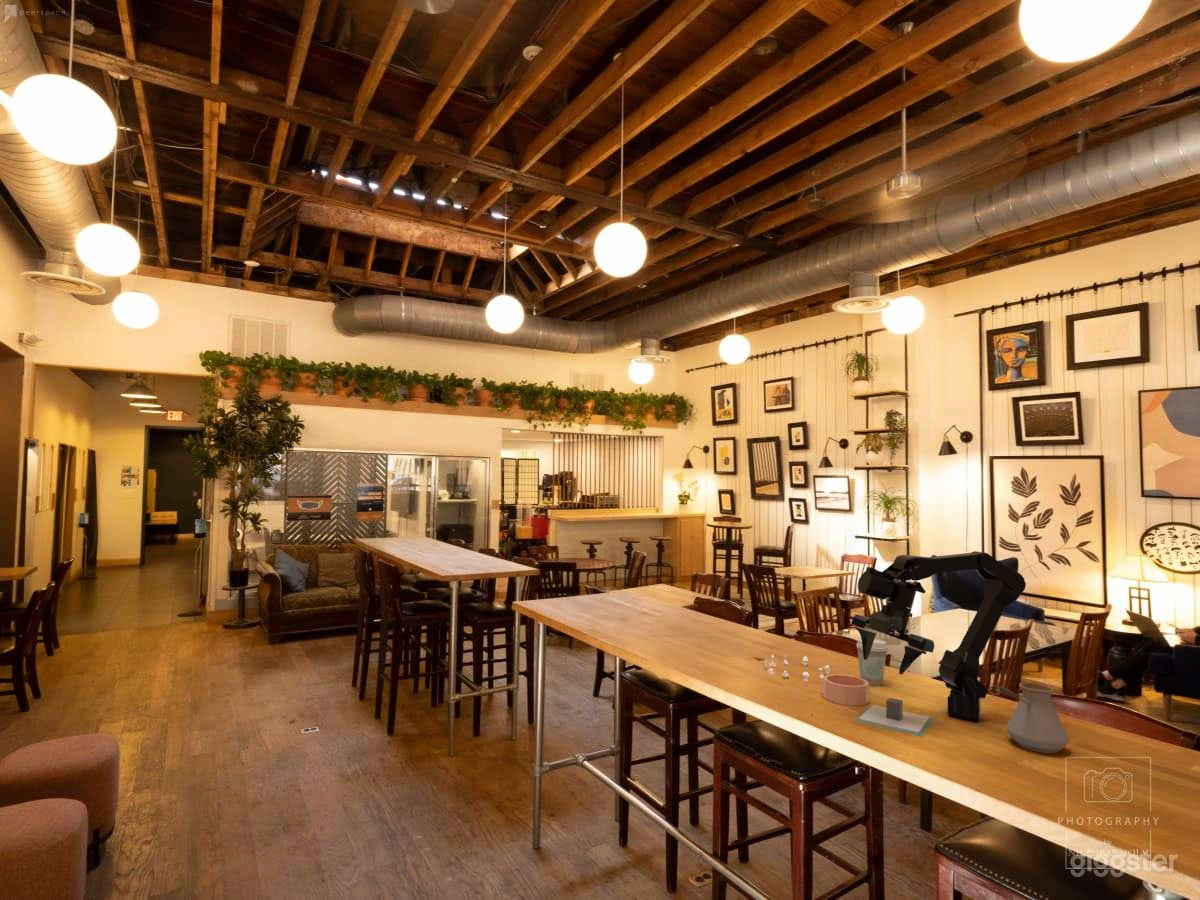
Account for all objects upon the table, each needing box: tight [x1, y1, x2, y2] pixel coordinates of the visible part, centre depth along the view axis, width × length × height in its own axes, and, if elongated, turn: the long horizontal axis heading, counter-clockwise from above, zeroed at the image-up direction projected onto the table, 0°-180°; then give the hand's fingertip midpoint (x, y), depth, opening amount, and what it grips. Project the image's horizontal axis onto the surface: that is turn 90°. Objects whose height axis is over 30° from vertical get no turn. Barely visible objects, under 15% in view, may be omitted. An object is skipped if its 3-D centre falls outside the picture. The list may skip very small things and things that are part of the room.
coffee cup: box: [855, 637, 889, 687], centre depth 188 cm, size 8×8×12 cm
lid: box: [859, 697, 931, 735], centre depth 155 cm, size 13×13×5 cm
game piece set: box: [764, 654, 831, 682], centre depth 197 cm, size 19×20×4 cm
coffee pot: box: [988, 682, 1070, 754], centre depth 141 cm, size 21×12×15 cm, turn 117°
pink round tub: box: [822, 673, 870, 707], centre depth 171 cm, size 11×11×5 cm
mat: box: [853, 705, 936, 738], centre depth 155 cm, size 15×15×1 cm
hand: (882, 666), depth 159 cm, fingers open, 9 cm apart
